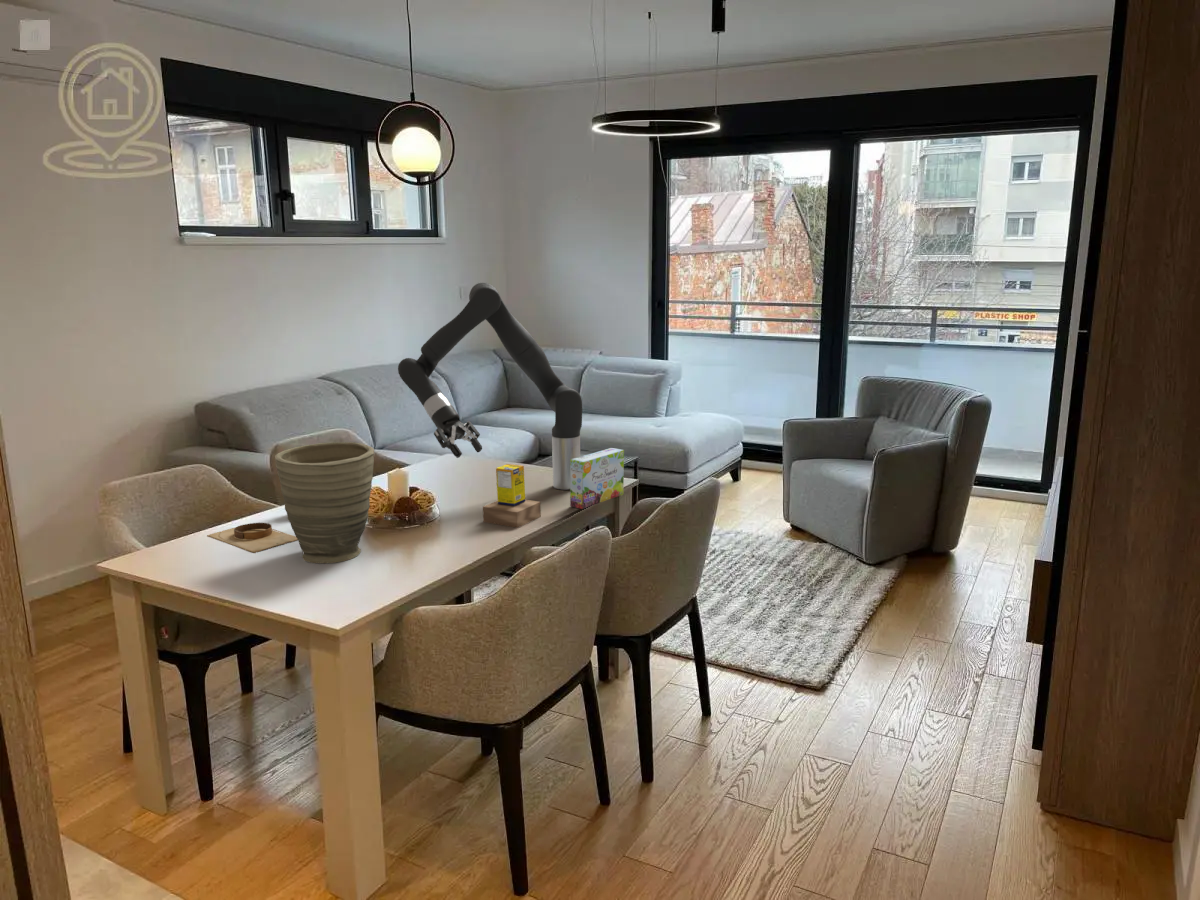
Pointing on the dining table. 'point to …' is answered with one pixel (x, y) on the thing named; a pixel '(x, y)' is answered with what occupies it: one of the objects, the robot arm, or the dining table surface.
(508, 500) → the supplement box
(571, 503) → the snack box
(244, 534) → the board
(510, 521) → the walnut block
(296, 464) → the vase
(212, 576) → the dining table surface
